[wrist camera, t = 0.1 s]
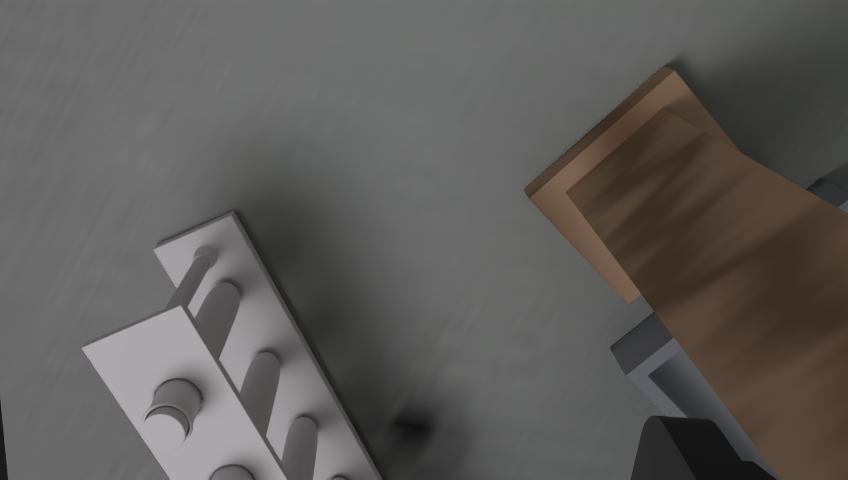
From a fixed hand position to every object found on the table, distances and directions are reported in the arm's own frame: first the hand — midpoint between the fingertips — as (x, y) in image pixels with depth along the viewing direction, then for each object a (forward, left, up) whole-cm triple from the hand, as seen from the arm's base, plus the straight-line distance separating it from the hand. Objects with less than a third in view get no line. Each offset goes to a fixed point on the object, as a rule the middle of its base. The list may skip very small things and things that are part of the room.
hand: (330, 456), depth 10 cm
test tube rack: (-19, +2, -30) cm, 35 cm away
